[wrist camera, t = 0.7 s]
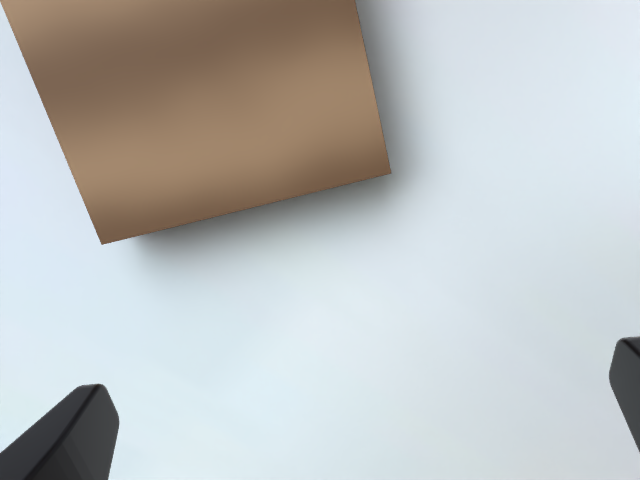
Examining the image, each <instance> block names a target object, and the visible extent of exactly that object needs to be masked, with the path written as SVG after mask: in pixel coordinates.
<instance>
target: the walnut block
mask: <svg viewBox="0 0 640 480" xmlns="http://www.w3.org/2000/svg"><path fill="white" fill-rule="evenodd" d="M0 2H1V4H2V7H3V9H4V11H5V14H6V16H7V19H8V21H9V23H10V26H11V28H12V31H13V33H14V35H15V38H16V40H17V43H18V45H19V47H20V50H21V52H22V55H23V57H24V59H25V62H26V64H27V67H28V69H29V71H30V74H31V76H32V79H33V81H34V83H35V86H36V88H37V91H38V93H39V95H40V98H41V100H42V103H43V105H44V107H45V110H46V112H47V115H48V117H49V119H50V122H51V124H52V127H53V129H54V131H55V134H56V136H57V139H58V141H59V143H60V146H61V148H62V151H63V153H64V155H65V158H66V160H67V163H68V165H69V167H70V170H71V172H72V175H73V177H74V179H75V182H76V184H77V187H78V189H79V191H80V194H81V196H82V199H83V201H84V203H85V206H86V208H87V211H88V213H89V215H90V218H91V220H92V223H93V225H94V227H95V230H96V232H97V235H98V237H99V240H100V242H101V244H102V245H103V244H107V243H111V242H115V241H119V240H123V239H127V238H131V237H135V236H139V235H143V234H147V233H151V232H155V231H160V230H164V229H168V228H172V227H176V226H180V225H184V224H188V223H192V222H196V221H200V220H204V219H208V218H212V217H216V216H220V215H224V214H228V213H232V212H236V211H241V210H245V209H249V208H253V207H257V206H261V205H265V204H269V203H273V202H277V201H281V200H285V199H289V198H293V197H297V196H301V195H305V194H309V193H313V192H317V191H321V190H326V189H330V188H334V187H338V186H342V185H346V184H350V183H354V182H358V181H362V180H366V179H370V178H374V177H378V176H382V175H386V174H390V173H391V170H390V165H389V160H388V155H387V151H386V146H385V141H384V136H383V132H382V127H381V122H380V117H379V113H378V108H377V103H376V98H375V94H374V89H373V84H372V79H371V75H370V70H369V65H368V60H367V56H366V51H365V46H364V41H363V37H362V32H361V27H360V22H359V18H358V13H357V8H356V3H355V0H0Z"/></svg>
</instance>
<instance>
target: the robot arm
mask: <svg viewBox="0 0 640 480" xmlns="http://www.w3.org/2000/svg"><path fill="white" fill-rule="evenodd" d="M609 380H610V385H611V387H612V390H613V392H614V394H615V397H616V399H617V401H618V404H619V406H620V408H621V411H622V413H623V415H624V417H625V420H626V422H627V424H628V427H629V429H630V431H631V434H632V436H633V438H634V440H635V443H636V445H637V447H638V450H639V452H640V336H639V337H628V338H622V339H620V340H619V341H618V342H617V344H616V347H615V351H614V355H613V359H612V363H611V367H610V371H609ZM118 429H119V416H118V413H117V411H116V408H115V406H114V404H113V402H112V400H111V397H110V395H109V393H108V391H107V389H106V387H105V386H104V385H102V384H90V385H82V386H79V387H77V388H76V389H74V390H73V391H72V392H71V393H70V394H69V395H67V396H66V397H65V398H64V399H63V400H62V401H60V402H59V403H58V404H57V405H56V406H55V407H53V408H52V409H51V410H50V411H49V412H48V413H46V414H45V415H44V416H43V417H42V418H41V419H39V420H38V421H37V422H36V423H35V424H34V425H32V426H31V427H30V428H29V429H28V430H27V431H25V432H24V433H23V434H22V435H21V436H20V437H18V438H17V439H16V440H15V441H14V442H13V443H11V444H10V445H9V446H8V447H7V448H6V449H4V450H3V451H2V452H1V453H0V480H108V477H109V473H110V468H111V463H112V458H113V453H114V449H115V444H116V439H117V434H118Z"/></svg>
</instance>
